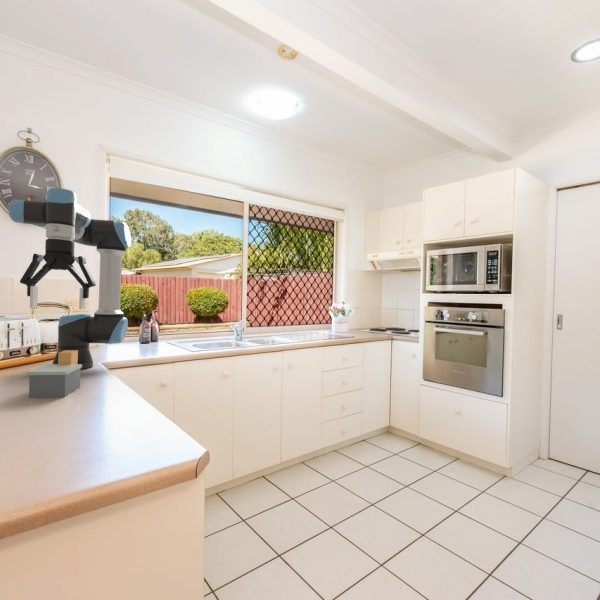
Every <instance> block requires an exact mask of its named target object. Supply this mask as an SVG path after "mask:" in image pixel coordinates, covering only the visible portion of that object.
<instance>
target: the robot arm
mask: <svg viewBox="0 0 600 600" xmlns="http://www.w3.org/2000/svg"><path fill="white" fill-rule="evenodd" d="M45 199H46V200H45V201H40V200H27V199H12V200H11V201H10V202H9V205H8V215H9V218H10V219H11V220H12V222H13V223H16V224H17V223H18V224H23V225H24V224H28V225H29V224H30V225H34V226H35V227H36V226H37V227H39V228H42V229H44V230H45V237H46V239H45V242H44V243H45V246H44V247H45V248H44V249H45V253H44V255H43V254H38V253H33V255H32V260H31V262H30V264H29V265H28V267H27V268H26V270H25V271H24V274H23V275H22V277H21V278H20V280H19V282H20V284H23V285H25V286H26V295H27V297H29V308H30V309H31V308H32V309H35V308H36V309H37V308H38V291H39V288H38V286H36V285H37V284H38V283H39V281H41V280H42V279H43V278H44V277H45V276H46V275H47V274H48V273H49V272H50V271H52V270H53V271H54V270H56V271H59V270H60V271H68V272H69V273H70V274H71V275H72V276H73V277H74V278H75V280H76V281H77V282H78V283H79V285H80V286H81V287H80V288H79V299H78V301H79V302H78V304H79V305H78V309H79V310H85V309H86V299H89V297H90V296H89V295H90V288H93V287H96V282H95V281H96V280H94V278H93V276H92V274H91V271H90V269H89V268H88V265H87V264H86V263H87V262H86V257H84V256H81V255H80V256H75V243H77V244H79V245H84V246H88V247H96V251H97V253H98V254H99V255H100V256H99V280H98V281H99V282H98V284H99V285H98V308H97V310H96V311H95V312H94V313H93V316H91V313H90V312H89V313H75V314H68V315H66V314H65V315H61V316H60V317H59V318H58V326H57V332H58V333H57V351H56V354H55V356H54V359H53V361H52V363H51V364H58V355H59V352H62V351H65V350H78V363H77V364H82V367H81V370H85V369H84V368H87V369H90V368H89V367H91V368H93V367H92V366H94V360H93V357H92V354H91V351H90V344H109V345H111V344H113V345H114V344H120V343H122V342H124V340H125V338H126V336H127V332H128V329H129V320H128V318H127V317H125V313H124V311H122V309H121V299H122V298H121V295H122V292H121V291H122V269H123V268H122V266H123V256H124V255H125V254H126V253H127V250H128V249H130V248H131V247H132V246H131V244H132V237H131V233H130V228H129V225H127V223H125V222H124V221H119V220H107V219H93V218H92V216H91V214H90V212H89V211H88V210H87V209H86V208H85V207H84V206H82V205H80V204H78V203H77V201H78V200H77V194H76V193H75V192H74V191H73V190H70V189H68V188H67V189H66V188H61V187H51V188H49V189H48V190H47V194H46V198H45ZM43 261H45V263H44V264H43V266H42V267H41V268H40V269H39V271H37V269H38V267H39V266H40V264H41V263H42V262H43ZM75 262H76V263H77V264H78V265H79V269H80V270H81V271H82V273H83V276H84V277H83V276H82V275H81V274H80V272H78V271H77V269H76V267H75V266H74V265H73V264H74V263H75ZM36 271H37V272H36Z"/></svg>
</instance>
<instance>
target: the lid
mask: <svg viewBox="0 0 600 600" xmlns="http://www.w3.org/2000/svg"><path fill="white" fill-rule="evenodd" d="M77 363H78V350H65V351H62V352H59V355H58V364H52V363H47V364H45V365H42V366H39V367H37V368H34V369H31V370H29V371H27V375H28V376H30V375H67V374H69V373H71V372H73V371H75V370H77V369H79V368H81V367H82V364H77Z"/></svg>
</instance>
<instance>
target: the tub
mask: <svg viewBox="0 0 600 600" xmlns="http://www.w3.org/2000/svg"><path fill="white" fill-rule="evenodd" d="M81 370H82V369H81V368H79V369H77V370H75V371H73V372H71V373H69V374H67V375H28V376H29V379H28V398H29V397H38V398H65V396H66V397H67V396H69V395H70V394H69V393H71V392H72V393H74V392H75V391H77V390H78V389H80V388H81ZM79 387H80V388H79ZM77 388H78V389H77ZM76 389H77V390H76ZM74 390H75V391H74ZM73 391H74V392H73ZM72 393H71V394H72ZM68 394H69V395H68Z"/></svg>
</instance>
